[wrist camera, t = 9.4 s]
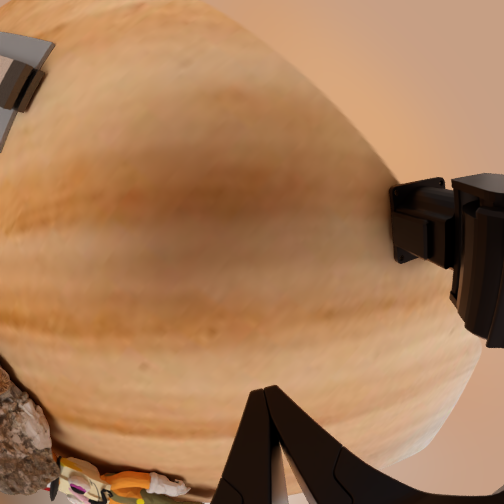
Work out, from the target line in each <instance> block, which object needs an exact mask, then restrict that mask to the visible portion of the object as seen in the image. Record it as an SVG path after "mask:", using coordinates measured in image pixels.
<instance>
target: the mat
mask: <svg viewBox="0 0 504 504" xmlns="http://www.w3.org/2000/svg"><path fill="white" fill-rule="evenodd" d="M54 46H55V44H54V43H52V42H48V41H44V40H40V39H36V38H31V37H27V36H22V35H17V34H11V33H5V32H0V56H4V57H7V58H10V59H13V60H17V61H20V62H23V63H26V64H28V65H30V66H32V67H33V68H35V69H38V70H40V68H41V66H42V65H43V63H44V61H45V60H46V58H47V57H48V55H49V54H50V52H51V51H52V49H53V48H54ZM16 114H17V111H15V110H13V109H11V110H8V109H3V108H1V107H0V153H1V151H2V148H3V146H4V143H5V140H6V137H7V135H8V132H9V130H10V127H11V125H12V123H13V120H14V118H15V116H16Z"/></svg>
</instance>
